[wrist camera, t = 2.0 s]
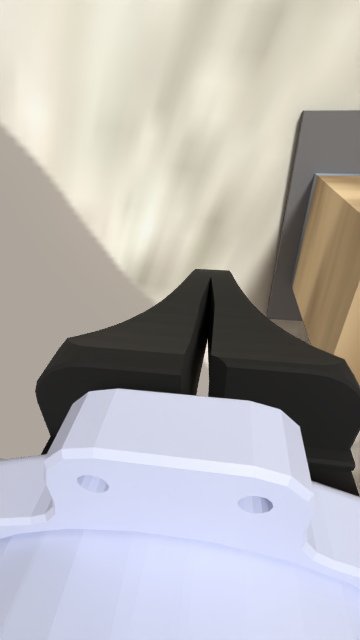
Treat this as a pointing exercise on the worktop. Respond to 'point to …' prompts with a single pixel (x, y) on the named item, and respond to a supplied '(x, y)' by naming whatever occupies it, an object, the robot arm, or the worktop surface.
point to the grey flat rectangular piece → (310, 157)
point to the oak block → (331, 267)
